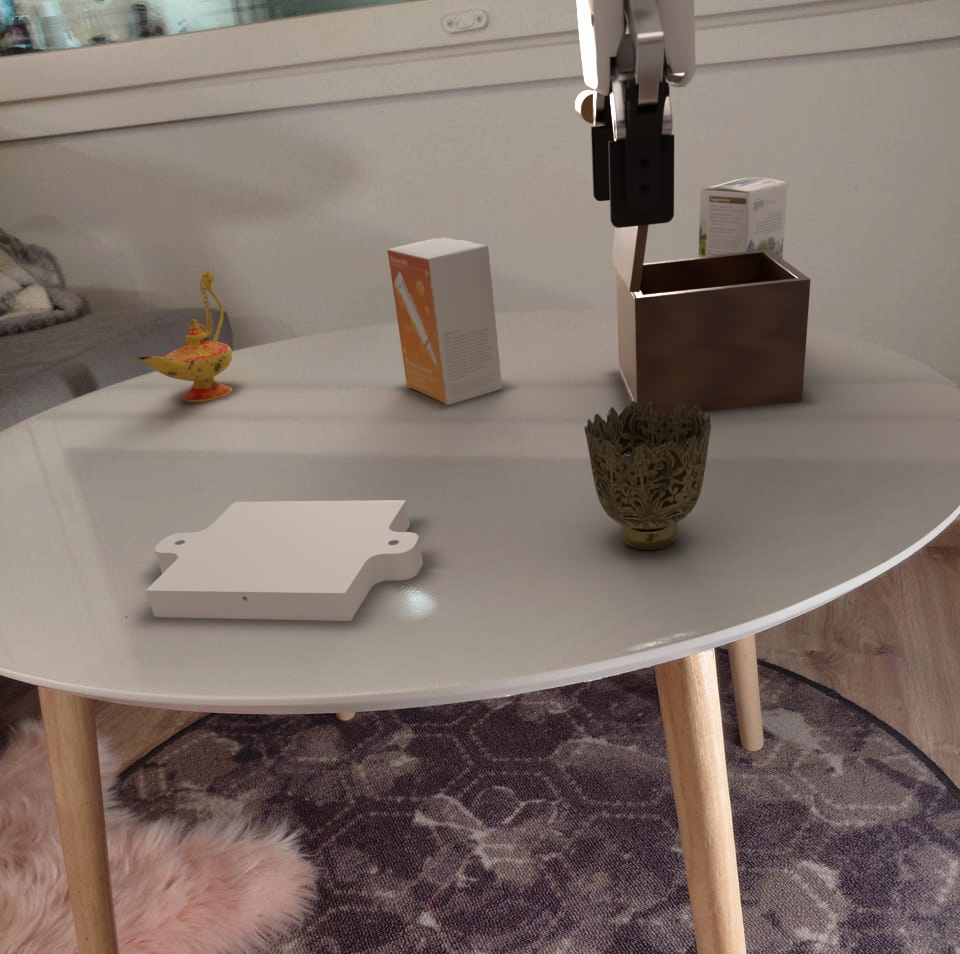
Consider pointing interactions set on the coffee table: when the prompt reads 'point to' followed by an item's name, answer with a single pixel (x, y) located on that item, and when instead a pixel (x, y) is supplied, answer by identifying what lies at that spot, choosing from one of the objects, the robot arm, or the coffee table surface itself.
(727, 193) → the syrup box
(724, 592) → the coffee table surface
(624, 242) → the lid
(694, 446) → the cup
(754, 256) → the compartment
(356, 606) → the mounting plate
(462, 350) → the small box
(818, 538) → the coffee table surface
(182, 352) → the magic lamp
